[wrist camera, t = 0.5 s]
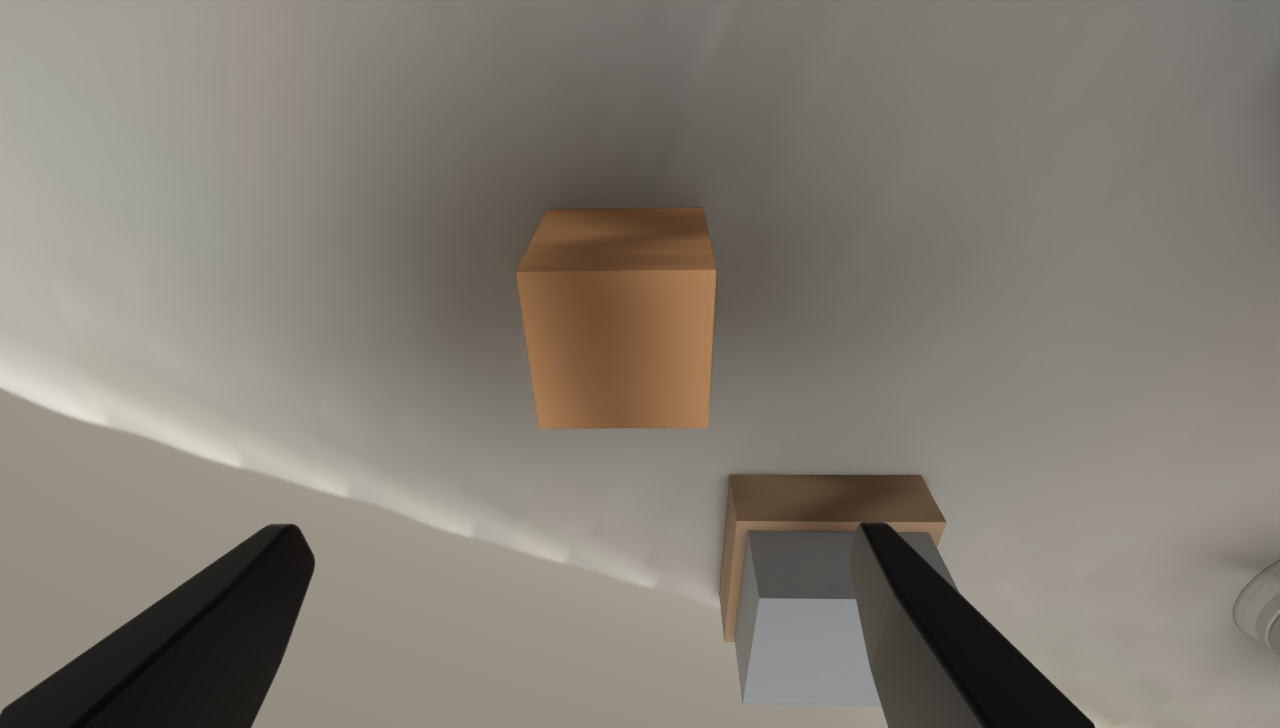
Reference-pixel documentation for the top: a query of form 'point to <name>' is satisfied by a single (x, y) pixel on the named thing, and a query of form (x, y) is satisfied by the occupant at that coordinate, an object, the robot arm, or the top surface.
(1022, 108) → the top surface
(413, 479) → the top surface
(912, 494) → the tower base
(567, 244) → the orange cube
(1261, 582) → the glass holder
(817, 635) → the tower top
